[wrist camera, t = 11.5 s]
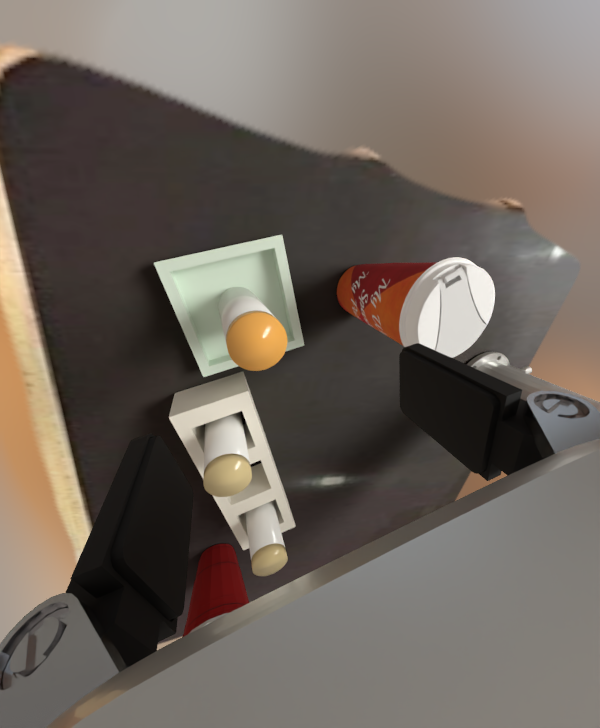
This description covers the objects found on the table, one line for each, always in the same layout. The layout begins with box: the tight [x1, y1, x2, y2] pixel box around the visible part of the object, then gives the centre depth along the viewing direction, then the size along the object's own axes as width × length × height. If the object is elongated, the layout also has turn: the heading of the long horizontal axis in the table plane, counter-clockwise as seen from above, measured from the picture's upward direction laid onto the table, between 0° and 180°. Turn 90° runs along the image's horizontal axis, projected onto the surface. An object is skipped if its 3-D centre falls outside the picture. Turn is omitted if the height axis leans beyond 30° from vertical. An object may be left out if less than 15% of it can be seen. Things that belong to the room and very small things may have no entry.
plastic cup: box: [183, 544, 250, 637], centre depth 38 cm, size 11×11×12 cm
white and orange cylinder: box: [218, 287, 287, 371], centre depth 23 cm, size 4×4×11 cm
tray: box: [154, 235, 304, 377], centre depth 27 cm, size 12×12×2 cm
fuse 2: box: [245, 501, 288, 576], centre depth 36 cm, size 4×4×11 cm
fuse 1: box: [203, 411, 252, 497], centre depth 28 cm, size 4×4×11 cm
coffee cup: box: [337, 257, 495, 358], centre depth 26 cm, size 8×8×15 cm
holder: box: [169, 372, 296, 550], centre depth 35 cm, size 8×26×5 cm, turn 12°
